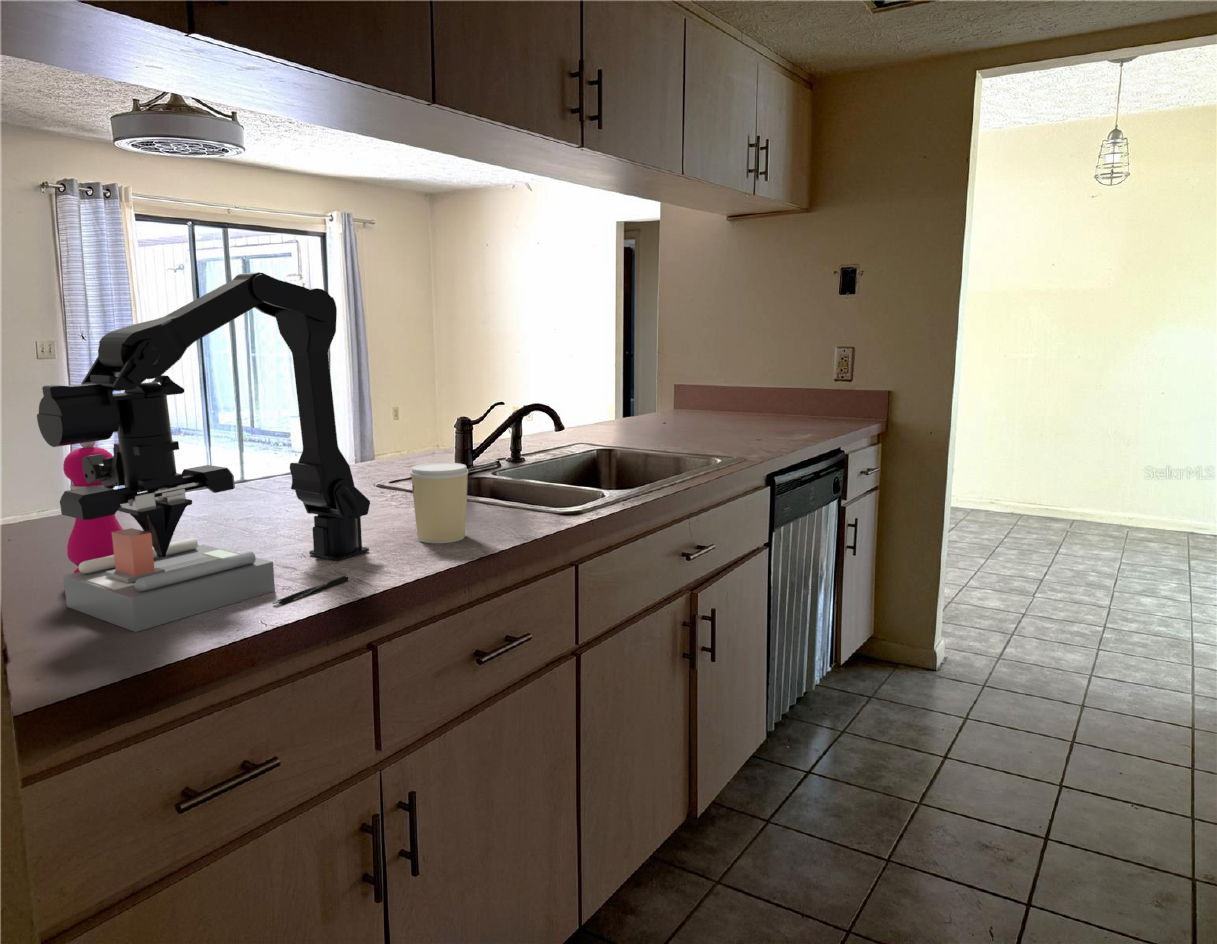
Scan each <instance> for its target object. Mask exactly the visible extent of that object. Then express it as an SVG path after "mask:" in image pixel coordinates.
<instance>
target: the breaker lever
mask: <svg viewBox="0 0 1217 944" xmlns="http://www.w3.org/2000/svg"><path fill="white" fill-rule="evenodd" d="M112 539H113V549H114V559H115V570H110V571H106V572H105V573H106V577H109V578H113V579H116V580H119V581H122V582H125V583H132V582H136V580H138V579H140V578H143V577H147V576H151V575H155V574H160V573H164V572H165V570H164V569H160V568H157V567H154V557H153V546H152V536H151V533H150V532H145V531H143V530H141V529H137V528H132V527H131V528H126V529H123V530H120V531H115V532H112Z"/></svg>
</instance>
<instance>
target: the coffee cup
mask: <svg viewBox="0 0 1217 944" xmlns="http://www.w3.org/2000/svg"><path fill="white" fill-rule="evenodd" d="M409 472H410V477H411V485H412V486H411V487H412V497H413V498H412V499H413V506H414V507H413V508H414V516H415V525H416V526H415V527H416V533H417V534H416V535H417V539H418V541H419V542H423V543H426V544H427V543H428V544H450V543H455V542H458V541H461V540H463V539H464V538H465V536H466V528H467V527H466V525H467V506H468V505H467V499H468V497H467V496H468V475H469V469H468V468H467V465H466V464H465V463H464V464H463V463H459V462H429V463H420V464H417V465H414V466H412V467H411V470H410V471H409Z"/></svg>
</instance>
